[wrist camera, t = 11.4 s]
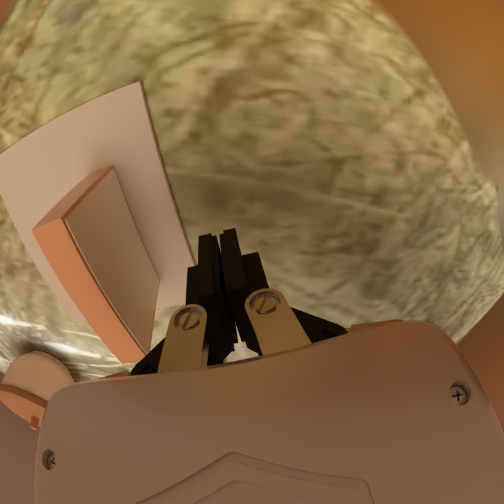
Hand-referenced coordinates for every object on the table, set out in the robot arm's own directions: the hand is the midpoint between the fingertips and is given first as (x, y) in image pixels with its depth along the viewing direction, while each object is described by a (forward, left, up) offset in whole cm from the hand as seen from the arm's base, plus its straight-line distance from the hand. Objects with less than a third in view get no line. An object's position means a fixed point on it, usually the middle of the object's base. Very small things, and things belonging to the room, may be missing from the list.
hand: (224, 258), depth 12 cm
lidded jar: (-14, +26, -6) cm, 30 cm away
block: (0, +6, -5) cm, 8 cm away
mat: (+1, +9, -6) cm, 11 cm away
